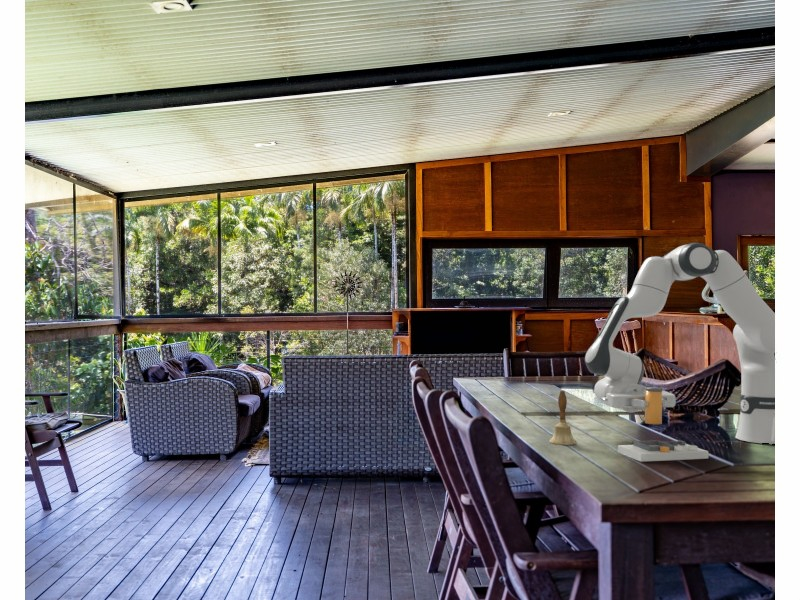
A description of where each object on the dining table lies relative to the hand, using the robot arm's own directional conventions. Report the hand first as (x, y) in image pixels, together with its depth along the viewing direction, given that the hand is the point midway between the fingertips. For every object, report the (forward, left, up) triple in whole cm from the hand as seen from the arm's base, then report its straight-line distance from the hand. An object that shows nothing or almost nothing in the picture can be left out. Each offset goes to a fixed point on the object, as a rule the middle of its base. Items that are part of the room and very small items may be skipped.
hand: (655, 404), depth 197 cm
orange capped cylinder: (0, -1, -5) cm, 6 cm away
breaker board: (-2, 0, -15) cm, 15 cm away
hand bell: (+18, -22, -15) cm, 32 cm away
